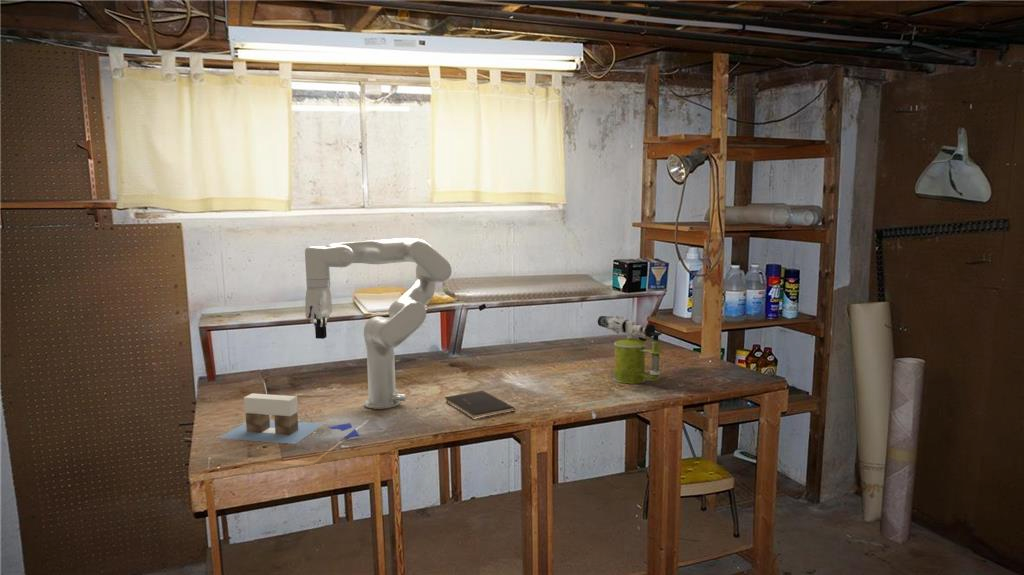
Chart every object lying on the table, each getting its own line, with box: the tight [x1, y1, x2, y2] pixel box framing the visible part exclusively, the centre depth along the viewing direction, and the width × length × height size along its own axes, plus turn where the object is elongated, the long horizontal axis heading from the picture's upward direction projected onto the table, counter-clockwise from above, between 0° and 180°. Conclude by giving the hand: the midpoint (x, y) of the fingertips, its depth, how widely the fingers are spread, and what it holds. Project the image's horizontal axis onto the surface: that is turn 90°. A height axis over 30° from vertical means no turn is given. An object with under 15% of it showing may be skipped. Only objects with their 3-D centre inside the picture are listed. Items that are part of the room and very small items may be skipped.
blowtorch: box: [597, 315, 664, 385], centre depth 270 cm, size 13×33×25 cm, turn 36°
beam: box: [243, 392, 299, 416], centre depth 213 cm, size 16×4×5 cm, turn 76°
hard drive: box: [328, 422, 361, 442], centre depth 214 cm, size 2×8×12 cm
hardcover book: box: [444, 390, 516, 419], centre depth 239 cm, size 16×23×2 cm
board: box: [218, 419, 325, 445], centre depth 214 cm, size 26×18×1 cm
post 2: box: [273, 412, 299, 435], centre depth 213 cm, size 5×5×6 cm
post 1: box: [245, 413, 271, 433], centre depth 215 cm, size 5×5×6 cm
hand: (321, 337), depth 227 cm, fingers closed
